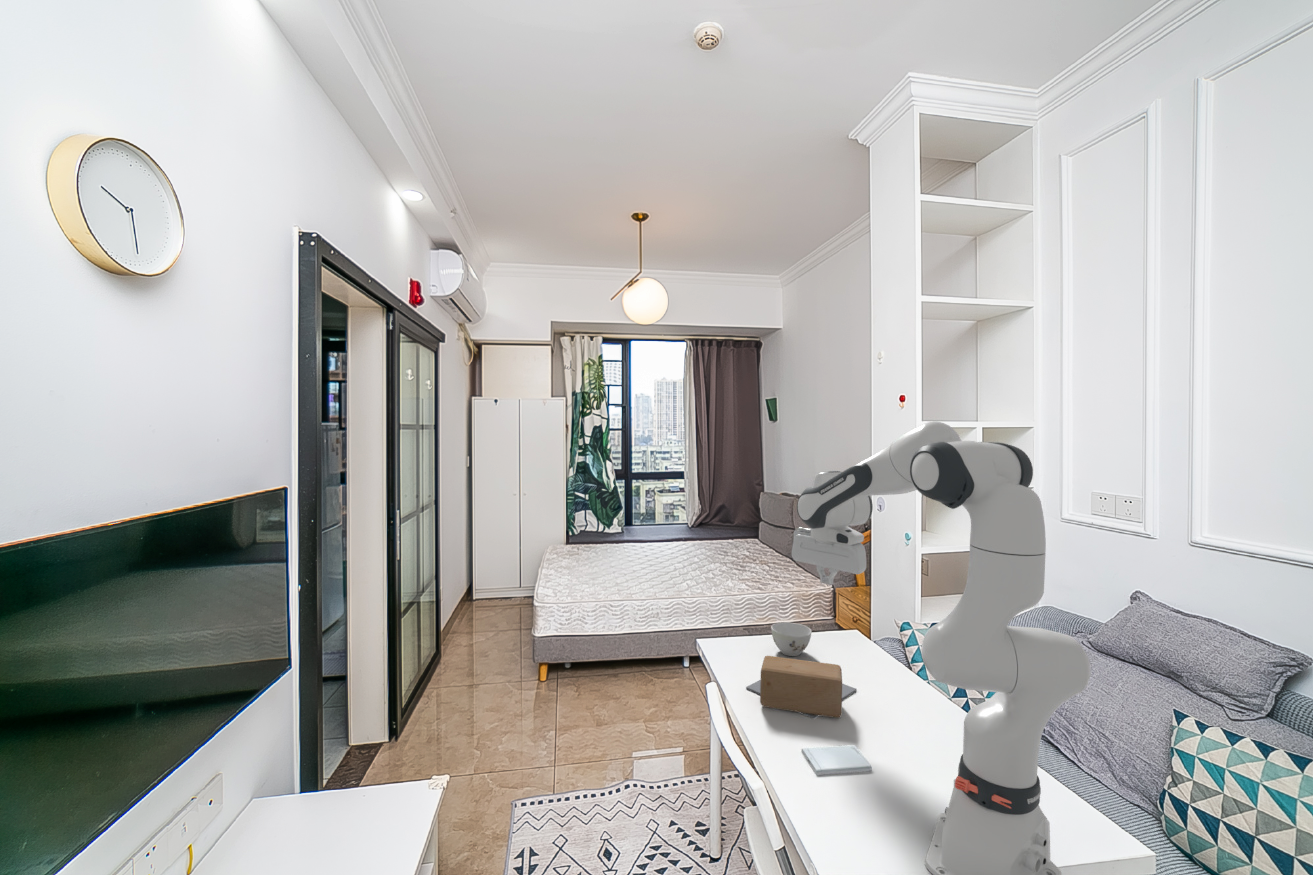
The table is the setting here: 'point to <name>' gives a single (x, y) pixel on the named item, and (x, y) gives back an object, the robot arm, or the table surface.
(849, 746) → the hard drive
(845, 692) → the grey flat square slab
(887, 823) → the table surface
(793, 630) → the teacup
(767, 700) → the wooden block
